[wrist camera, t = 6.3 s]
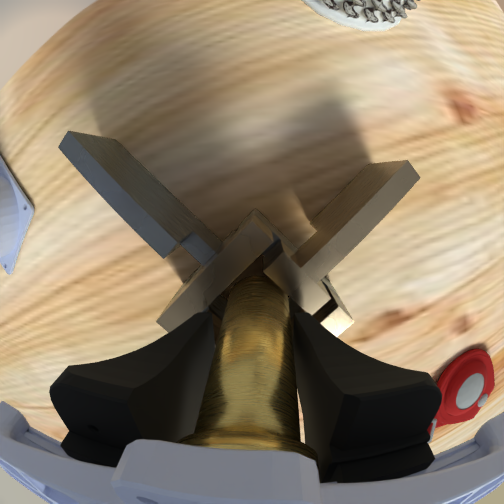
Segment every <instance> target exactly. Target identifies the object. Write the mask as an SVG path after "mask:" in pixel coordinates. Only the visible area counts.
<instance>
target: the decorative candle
mask: <svg viewBox="0 0 504 504" xmlns="http://www.w3.org/2000/svg"><path fill="white" fill-rule="evenodd" d="M301 1H303V2H304V3H305V4H306V5H308V6H309V7H310V8H311V9H313V10H314V11H315V12H316V13H317V14H319V15H321V16H323V17H325V18H327V19H329V20H331V21H333V22H335V23H337V24H339V25H342V26H346V27H350V28H354V29H357V30H361V31H386V30H388V29H390V28H392V27H394V26H396V25H398V24H399V22H400V20H401V18H407V15H406V13H405V9H404V8H406V9H408V10H411V9H416V8H417V5H416V4H415V2H414V0H301ZM418 1H420V0H418Z"/></svg>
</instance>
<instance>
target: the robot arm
mask: <svg viewBox="0 0 504 504" xmlns="http://www.w3.org/2000/svg"><path fill="white" fill-rule="evenodd" d="M33 214H34V207H33V205H32V204H31V202H30V201H29V200H28V198H27V197H26V195H25V194H24V192H23V191H22V189H21V188H20V186H19V185H18V183H17V182H16V180H15V179H14V177H13V176H12V174H11V172H10V171H9V169H8V167H7V166H6V164H5V162H4V161H3V159H2V157H1V156H0V263H1V265H2V266H3V268H4V269H5V271H6V272H7V274H9V275H10V274H12V273H13V270H14V266H15V263H16V260H17V257H18V254H19V251H20V248H21V245H22V242H23V240H24V237H25V234H26V232H27V229H28V226H29V224H30V222H31V219H32V217H33ZM293 350H294V361H295V372H296V384H297V389H298V394H299V398H300V403H301V407H302V413H303V420H304V432H305V444H306V445H308V446H310V447H311V448H313V449H314V450H315V451H316V453H317V455H318V463H319V474H320V479H319V474H318V469H317V465H316V462H315V460H312V459H310V458H308V457H305V456H303V455H301V454H299V453H296V452H288V451H277V450H240V449H223V448H211V447H201V446H193V445H186V444H179V443H176V442H177V441H178V440H179V439H181V438H183V437H185V436H188V435H191V434H194V431H195V427H196V423H197V419H198V415H199V411H200V407H201V403H202V399H203V395H204V391H205V387H206V383H207V379H208V375H209V371H210V367H211V363H212V359H213V355H214V352H215V340H214V330H213V319H212V313H208V312H198V313H196V314H194V315H193V316H192V317H190V318H189V319H188V320H186V321H185V322H184V323H182V324H181V325H179V326H178V327H177V328H175V329H174V330H172V331H171V332H169V333H168V334H166V335H164V336H163V337H161V338H160V339H158V340H156V341H155V342H153V343H151V344H149V345H147V346H145V347H143V348H140V349H138V350H136V351H133V352H130V353H128V354H125V355H122V356H119V357H116V358H112V359H109V360H105V361H100V362H95V363H89V364H81V365H71V366H68V367H67V368H66V369H65V370H64V372H63V373H62V374H61V375H60V376H59V377H58V378H57V380H56V381H55V382H54V383H53V384H52V385H51V386H50V391H49V393H50V397H51V401H52V403H53V405H54V407H55V409H56V411H57V412H58V414H59V416H60V417H61V419H62V420H63V422H64V424H65V425H66V427H67V428H68V430H69V432H68V434H67V435H66V437H65V438H64V440H63V441H62V442H59V441H57V440H55V439H53V438H51V437H49V436H47V435H45V434H43V433H41V432H40V431H38V430H36V429H34V428H32V427H31V426H30V425H29V423H28V422H27V420H26V418H25V417H24V416H23V415H22V414H21V413H20V412H19V411H18V410H17V409H15V408H14V407H12V406H10V405H9V404H7V403H6V402H4V401H2V402H1V403H0V466H1V467H2V468H3V469H4V470H5V471H6V472H7V473H8V474H9V475H10V476H11V477H13V478H14V479H15V480H17V481H19V483H21V484H22V485H23V486H25V487H26V488H28V489H29V490H30V491H32V492H33V493H35V494H36V495H37V496H39V497H40V498H42V499H44V500H45V501H46V502H48V503H50V504H474V503H475V502H477V501H478V500H480V499H481V498H483V497H484V496H486V495H487V494H489V493H490V492H492V491H493V490H494V489H496V488H497V487H498V486H499V485H500V484H502V482H504V412H502V413H501V414H499V415H497V416H496V417H494V418H492V419H490V420H488V421H487V422H486V423H485V424H483V425H482V426H481V428H480V429H479V430H478V432H477V433H476V435H475V437H474V438H472V439H470V440H468V441H466V442H464V443H462V444H460V445H458V446H455V447H453V448H451V449H449V450H446V451H444V452H441V453H439V454H436V455H433V453H432V451H431V449H430V447H429V444H428V442H429V440H430V437H431V436H430V434H429V433H428V431H427V429H428V427H429V426H430V424H431V422H432V421H433V419H434V417H435V415H436V414H437V412H438V410H439V407H440V405H441V402H442V393H441V391H440V389H439V387H438V386H437V385H436V383H435V382H434V380H433V379H432V378H431V376H430V375H429V374H428V373H426V372H420V371H415V370H409V369H404V368H400V367H397V366H393V365H390V364H387V363H384V362H381V361H379V360H376V359H374V358H372V357H369V356H367V355H365V354H363V353H361V352H359V351H357V350H356V349H354V348H352V347H350V346H349V345H347V344H346V343H344V342H343V341H341V340H340V339H339V338H337V337H336V336H335V335H333V334H332V333H331V332H330V331H328V330H327V329H326V328H325V327H324V326H323V325H322V324H320V323H319V322H318V321H317V320H316V319H315V318H314V317H313V316H312V315H311V314H310V313H308V312H307V313H294V325H293Z"/></svg>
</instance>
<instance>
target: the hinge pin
mask: <svg viewBox="0 0 504 504" xmlns="http://www.w3.org/2000/svg"><path fill="white" fill-rule="evenodd" d="M176 443H179V444H186V445H193V446H201V447H211V448H223V449H240V450H277V451H288V452H296V453H299V454H301V455H303V456H305V457H308V458H310V459H312V460H315V462H316V465H317V469H318V474H319V463H318V455H317V453H316V451H315V450H314V449H313V448H311V447H310V446H308V445H306V444H304V443H302V442H301V439H300V424H299V409H298V396H297V384H296V372H295V361H294V350H293V340H292V329H291V320H290V310H289V301H288V295H287V294H286V293H285V292H284V291H283V290H282V289H281V288H280V287H279V286H278V285H277V284H276V283H274V282H273V281H272V280H271V279H270V278H268V277H264V276H251V277H247V278H245V279H242V280H241V281H239V282H238V283H237V284H236V285H235V286H234V287H233V288H232V290H231V292H230V294H229V298H228V302H227V306H226V309H225V313H224V317H223V321H222V325H221V328H220V332H219V336H218V340H217V344H216V348H215V352H214V355H213V359H212V363H211V367H210V371H209V375H208V379H207V383H206V387H205V391H204V395H203V399H202V403H201V407H200V411H199V415H198V419H197V423H196V427H195V431H194V434H191V435H188V436H185V437H183V438H181V439H179V440H178V441H177V442H176ZM319 479H320V474H319Z"/></svg>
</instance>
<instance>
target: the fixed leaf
mask: <svg viewBox="0 0 504 504" xmlns="http://www.w3.org/2000/svg"><path fill="white" fill-rule="evenodd" d="M58 148H59V149H60V150H61V151H62V152H63V154H64V155H65V156H66V157H67V158H68V159H69V161H70V162H71V163H72V164H73V165H74V166H75V168H76V169H77V170H78V171H79V172H80V173H81V174H82V175H83V177H84V178H85V179H86V180H87V181H88V182H89V183H90V184H91V185H92V187H93V188H94V189H95V190H96V191H97V192H98V193H99V194H100V195H101V196H102V197H103V198H104V200H105V201H106V202H107V203H108V204H109V205H110V206H111V207H112V208H113V209H114V210H115V211H116V212H117V213H118V214H119V215H120V216H121V217H122V218H123V219H124V220H125V221H126V222H127V223H128V224H129V225H130V226H131V227H132V229H133V230H134V231H135V232H136V233H137V234H138V235H139V236H141V237H142V238H143V239H144V240H145V241H146V242H147V243H148V244H149V245H150V246H151V247H152V248H153V249H154V250H155V251H156V252H157V253H158V254H159V255H160V256H161V257H162V258H163V259H164V258H166V257H167V256H168V255H169V254H170V253H172V252H173V251H174V250H175V249H176V248H178V247H179V246H180V245H181V246H182V247H183V248H185V249H186V250H187V251H188V252H189V253H190V254H191V255H192V256H193V257H194V258H195V259H196V260H197V261H198V262H200V263H201V265H200V267H199V268H198V270H197V271H196V272H194V273H193V274H192V275H191V276H190V277H189V278H188V279H187V280H186V281H185V282H184V283H183V285H182V286H181V287H180V289H179V290H178V292H179V291H180V290H181V289H182V288H183V287H184V286H185V285H186V284H187V283H188V282H189V281H190V280H191V279H192V277H193V276H194V275H195V274H196V273H197V272H198V271H199V270H200V269H201V268H202V267H203V266H204V265H205V264H206V263H207V262H208V261H209V260H210V258H211V257H212V256H213V255H214V254H215V253H216V252H217V251H218V250H219V249H220V248H221V247H222V246H223V245H224V244H225V243H226V242H227V241H228V240H229V239H230V238H231V237H232V236H233V235H234V234H235V231H233V232H232V233H231V234H230V235H229V236H228V237H227V238H226V239H225V240H224V241H223V242H222V241H221V240H220V239H219V238H218V237H217V236H216V235H214V234H213V233H212V232H211V231H210V230H209V229H208V228H207V227H206V226H205V225H204V224H203V223H202V222H201V221H200V220H199V219H197V218H196V217H195V216H194V215H193V214H192V213H191V212H190V211H189V210H188V209H187V208H186V207H185V206H184V205H183V204H182V203H181V202H180V201H179V200H177V199H176V198H175V197H174V196H173V195H172V194H171V193H170V192H169V191H168V190H167V189H166V188H165V187H164V186H163V185H162V184H161V183H160V182H159V181H158V180H157V179H156V178H154V177H153V176H152V175H151V174H150V173H149V172H148V171H147V170H146V169H145V168H144V167H143V166H142V165H141V164H140V163H139V162H138V161H137V160H136V159H135V158H134V157H133V156H132V155H131V154H130V153H129V152H128V151H127V150H126V149H125V148H123V147H122V146H121V145H120V144H119V143H118V142H117V141H116V140H115V139H110V138H105V137H100V136H95V135H90V134H84V133H79V132H73V131H68V132H67V133H66V135H65V137H64V138H63V140H62V142H61V143H60V145H59V147H58ZM253 214H255V215H256V216H257V217H258V218H259V219H260V220H261V221H262V222H263V223H264V224H265V225H266V226H267V227H268V228H269V229H270V230H272V235H273V241H274V242H273V243H272V244H271V245H270V246H269V247H268V248H267V249H266V250H265V251H264V252H263V253H262V254H263V255H265V254H266V253H267V252H268V251H269V250H270V249H271V248H272V247H273V246H274V245H275V244H276V243H277V242H278V241H279V240H280V239H281V240H282V241H283V242H284V243H285V244H286V245H287V246H288V247H289V248H290V249H291V250H292V251H293V252H294V253H295V252H296V251H297V250H298V249H297V248H296V247H295V246H294V245H293V244H292V243H291V242H290V241H289V240H288V239H287V238H286V237H285V236H284V235H283V234H282V233H281V232H280V231H279V230H277V229H276V228H275V227H274V226H273V225H272V224H271V223H270V222H269V221H268V220H267V219H266V218H265V217H264V216H263V215H262V214H261V213H260V212H259V211H258V210H257V209H256V208H255V209H254V210H253V211H252V212H251V213H250V214H249V215H248V216H247V217H246V218H245V219H244V220H243V221H242V222H241V224H240V226H239V228H240V227H241V226H242V225H243V224H244V223H245V222H246V221H247V220H248V219H249V218H250V217H251V216H252V215H253ZM239 228H238V229H239ZM321 281H322V283H323V285H324V286H325V288H327V287H329V288H330V289H331V290H332V291H333V292H334V294H335V295H336V296H337V297H338V298H339V299H340V297H339V296H338V294H337V292H336V291H335V289H334V287H333V286H332V284H331V283H330V282H329V281H328V280H327V279H326V278H325V277H323V278H322V279H321ZM178 292H177V293H176V294H175V296H176V295H177V294H178ZM175 296H174V297H175ZM174 297H173V298H174ZM173 298H172V299H173ZM288 301H289V310H290V320H291V319H292V318H293V317H294V313H299V312H300V311H301V310H303V309H302V308H301V307H300V306H299V305H298V304H297V303H296V302H295V301H294V300H293V299H292V298H291V297H290V298H289V299H288ZM227 302H228V301H227V300H226V299H225V298H224V297H223V296H222V295H218V296H217V297H216V298H215V299H214V300H213V301H212V302H211V303H210V304H209V305H208V306H207V307H206V308H205V309H204V310H203V311H202V312H206V311H207V310H208V309H209V310H210V311H211V312H212V313H214V314H215V315H216V316H217V317H218V318H219V319H221V320H222V321H223V317H224V313H225V309H226V306H227Z"/></svg>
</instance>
